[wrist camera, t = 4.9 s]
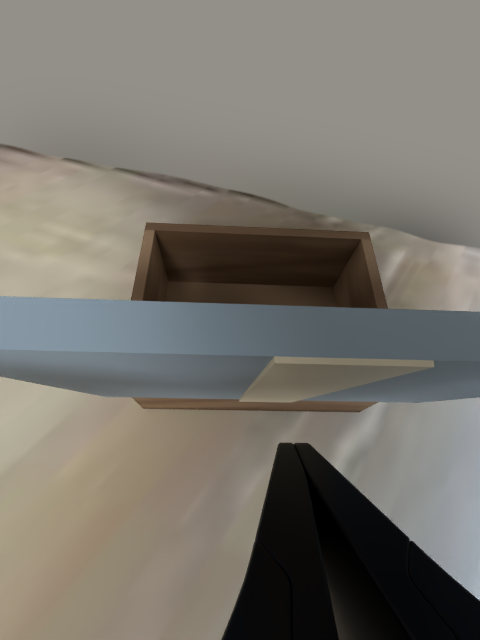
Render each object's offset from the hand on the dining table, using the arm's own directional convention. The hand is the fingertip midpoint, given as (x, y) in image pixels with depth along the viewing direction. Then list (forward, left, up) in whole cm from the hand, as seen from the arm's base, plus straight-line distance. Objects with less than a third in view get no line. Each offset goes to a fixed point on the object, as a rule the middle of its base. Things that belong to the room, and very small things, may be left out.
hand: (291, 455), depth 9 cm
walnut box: (+7, -5, -11) cm, 14 cm away
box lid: (+2, -1, 0) cm, 3 cm away
